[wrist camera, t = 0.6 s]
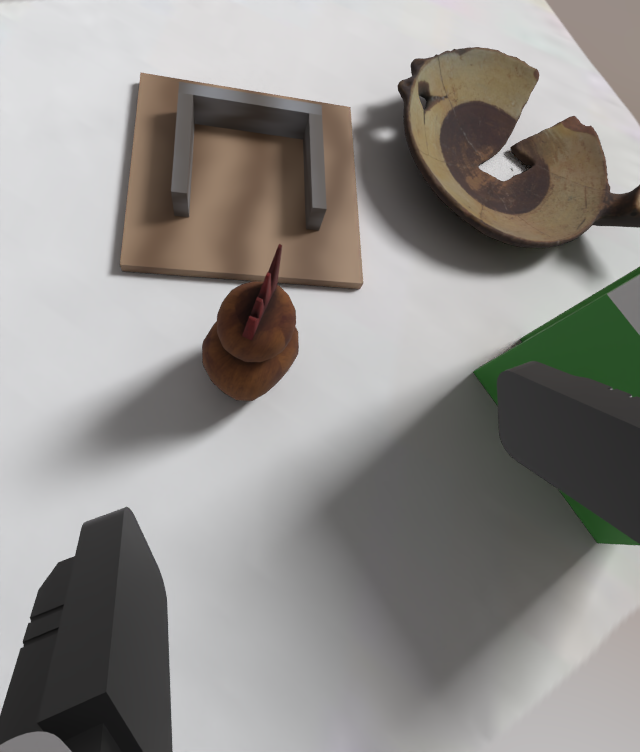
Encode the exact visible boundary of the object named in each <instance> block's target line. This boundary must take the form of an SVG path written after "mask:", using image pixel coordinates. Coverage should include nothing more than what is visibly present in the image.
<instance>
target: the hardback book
mask: <svg viewBox="0 0 640 752" xmlns="http://www.w3.org/2000/svg"><path fill="white" fill-rule="evenodd" d="M520 340H521V341H522V343H520V344H518V345H517V346H515V347H513V348H512V349H510V350H508V351H507V352H505V353H503V354H501V355H500V356H498V357H496V358H495V359H493V360H491V361H489V362H488V363H486V364H484V365H483V366H481V367H479V368H478V369H476V370H475V371H474V372H473V373H474V374H475V375H476V377H477V378H478V380H479V381H480V382H481V384H482V385H483V386H484V388H485V389H486V391H487V392H488V393H489V395H490V396H491V397H492V399H493V400H494V402H495V403H496V404H497V406H498V400H497V378H498V376H499V374H500V373H501V372H503V371H505V370H508V369H511V368H514V367H516V366H519V365H522V364H525V363H527V362H530V361H537V362H540V363H542V364H545V365H548V366H550V367H553V368H555V369H558V370H561V371H563V372H566V373H568V374H571V375H574V376H579V377H585V378H589V379H592V380H595V381H597V382H600V383H603V384H605V385H608V386H611V387H612V389H613V390H615V389H619V390H621V391H624V392H627V393H629V394H631V395H632V397H636V396H637V397H640V267H638V268H637V269H635V270H633V271H632V272H630V273H628V274H627V275H625V276H623V277H622V278H620V279H618V280H617V281H615V282H613V283H612V284H610V285H608V286H607V287H605V288H603V289H602V290H600V291H598V292H597V293H595V294H593V295H592V296H590V297H588V298H587V299H585V300H583V301H582V302H580V303H578V304H577V305H575V306H574V307H572V308H570V309H569V310H567V311H565V312H564V313H562V314H560V315H559V316H557V317H555V318H554V319H552V320H550V321H549V322H547V323H545V324H544V325H542V326H540V327H539V328H537V329H535V330H534V331H532V332H530V333H529V334H527V335H525V336H524V337H523V338H521V339H520ZM558 490H559V489H558ZM559 491H560V492H561V494H562V495H563V496H564V498H565V499H566V501H567V502H568V503H569V505H570V506H571V508H572V509H573V510H574V512H575V513H576V514H577V516H578V517H579V519H580V520H581V521H582V523H583V524H584V525H585V527H586V528H587V530H588V531H589V532H590V534H591V535H592V536H593V538H594V539H595V541H596V542H597V543H605V544H624V545H640V544H639V543H637V542H636V541H634V540H633V539H631V538H630V537H628V536H627V535H625V534H624V533H622V532H621V531H619V530H618V529H617V528H615V527H614V526H612V525H611V524H609V523H608V522H606V521H605V520H603V519H602V518H600V517H599V516H597V515H596V514H594V513H593V512H591V511H590V510H589V509H587V508H586V507H584V506H583V505H581V504H580V503H578V502H577V501H575V500H574V499H572V498H571V497H569V496H568V495H566V494H565V493H563V492H562V491H561V490H559Z"/></svg>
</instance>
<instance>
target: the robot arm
mask: <svg viewBox="0 0 640 752" xmlns="http://www.w3.org/2000/svg"><path fill="white" fill-rule="evenodd" d="M497 400H498V420H499V435H500V439H501V442H502V444H503V446H504V448H505V449H506V451H507V452H508V454H509V455H510V456H511V457H512V458H514V459H515V460H516V461H518V462H519V463H521V464H522V465H524V466H525V467H527V468H528V469H530V470H531V471H533V472H534V473H536V474H537V475H538V476H540V477H541V478H543V479H544V480H546V481H547V482H549V483H550V484H552V485H553V486H555V487H556V488H558V489H559V490H561V491H562V492H563V493H565V494H566V495H568V496H569V497H571V498H572V499H574V500H575V501H577V502H578V503H580V504H581V505H583V506H584V507H586V508H587V509H589V510H590V511H591V512H593V513H594V514H596V515H597V516H599V517H600V518H602V519H603V520H605V521H606V522H608V523H609V524H611V525H612V526H614V527H615V528H617V529H618V530H619V531H621V532H622V533H624V534H625V535H627V536H628V537H630V538H631V539H633V540H634V541H636V542H637V543H639V544H640V397H637V396H636V397H632V395H631V394H629V393H627V392H624V391H621V390H619V389H615V390H613V389H612V387H611V386H608V385H605V384H603V383H600V382H597V381H595V380H592V379H589V378H585V377H579V376H574V375H571V374H568V373H566V372H563V371H561V370H558V369H555V368H553V367H550V366H548V365H545V364H542V363H540V362H537V361H530V362H527V363H525V364H522V365H519V366H516V367H514V368H511V369H508V370H505V371H503V372H501V373H500V374H499V376H498V378H497ZM30 619H31V623H28V626H27V629H26V633H25V636H24V639H23V644H24V647H23V648H21V649H20V652H19V656H18V659H17V662H16V665H15V669H14V672H13V675H12V679H11V682H10V685H9V688H8V692H7V695H6V698H5V701H4V705H3V708H2V711H1V715H0V752H172V726H171V698H170V670H169V642H168V614H167V597H166V591H165V586H164V582H163V579H162V576H161V573H160V570H159V568H158V565H157V563H156V561H155V559H154V557H153V555H152V552H151V550H150V548H149V546H148V544H147V542H146V539H145V537H144V535H143V533H142V531H141V529H140V526H139V524H138V522H137V520H136V518H135V516H134V514H133V512H132V511H131V509H130V508H128V507H125V508H123V509H120V510H117V511H114V512H112V513H109V514H106V515H103V516H101V517H98V518H95V519H92V520H90V521H87V522H85V523H83V525H82V528H81V532H80V537H79V541H78V546H77V550H76V554H75V556H74V557H72V558H69V559H66V560H64V561H61V562H58V564H57V565H56V567H55V568H54V569H53V571H52V572H51V573H50V575H49V576H48V578H47V579H46V580H45V582H44V583H43V585H42V586H41V587H40V589H39V590H38V593H37V597H36V600H35V603H34V606H33V610H32V613H31V616H30Z"/></svg>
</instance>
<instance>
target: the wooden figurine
mask: <svg viewBox="0 0 640 752" xmlns="http://www.w3.org/2000/svg"><path fill="white" fill-rule="evenodd" d="M281 252H282V245H281V244H279V245H278V247H277V250H276V253H275V255H274V258H273V260H272V263H271V266H270V268H269V271H268V272H267V274H266V276H265V279H264V282H261V281H253V282H249V283H245V284H242V285H240V286H238V287H236V288H235V289H233V290H231V292H230V293H229V294H228V295H227V297H226V298H225V299H224V301H223V302H222V304H221V307H220V309H219V312H218V315H217V322H216V323H215V324H214V325H213V327H212V328H211V330H210V331H209V333H208V335H207V336H206V338H205V339H204V341H203V345H202V358H203V366H204V368H205V370H206V372H207V373H208V375H209V377H210V379H211V381H212V382H213V383H214V384H215V385H216V386H217V387H218V388H219V389H220V390H221V391H223V392H224V393H225V394H227V395H229V396H230V397H232V398H234V399H235V400H245V401H253V400H255V399H256V398H258V397H260V396H262V395H263V394H265V393H266V392H268V391H269V390H270V389H271V388H272V387H273V386H274V385H276V384H277V382H278V381H279V380H280V379H281V378H282V377H283V376H284V375H285V374H286V372H287V371H288V370H289V368H290V367H291V365H292V363H293V362H294V360H295V359H296V357H297V355H298V349H299V345H298V331H297V329H296V327H295V325H296V311H295V308H294V306H293V304H292V302H291V299H290V297H289V295H288V294H287V293H286V292H285V291H284V290H283V289H282V288H281V287H280V286H278V285H277V283H278V276H279V268H280V260H281Z"/></svg>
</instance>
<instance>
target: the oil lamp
mask: <svg viewBox="0 0 640 752" xmlns="http://www.w3.org/2000/svg"><path fill="white" fill-rule="evenodd" d="M411 73H412V77H410V78H408V79H405V80H402V81H401V82H399V84H398V91H399V93H400V94H401V97H402V98H403V101H404V116H403V117H404V128H405V134H406V139H407V142H408V146H409V149H410V151H411V154H412V157H413V159H414V161H415V163H416V164H417V166H418V168H419V170H420V172H421V173H422V175H423V177H424V178H425V180H426V181H427V182H428V184H429V185H430V187H431V188H432V189H433V191H434V192H435V193H436V194H437V195H438V197H439V198H440V199H441V200H442V201H443V202H444V203H445V204H446V205H447V206H448V207H449V208H450V209H452V210H453V211H454V212H455V213H456V214H457V215H459V216H460V217H461V218H462V219H464V220H465V221H466V222H467V223H469V224H470V225H472V226H473V227H474V228H476V229H477V230H478V231H480V232H482V233H483V234H485V235H487V236H489V237H491V238H493V239H496V240H499V241H501V242H503V243H507V244H510V245H514V246H519V247H526V248H545V247H553V246H558V245H562V244H565V243H567V242H570V241H572V240H574V239H576V238H578V237H579V236H581V235H582V234H583V233H584V232H586V231H587V230H588V229H589V228H590V227H591V226H592V225H596V226H622V227H640V185H639V186H638V187H637V188H635V189H634V190H633V191H631V192H629V193H625V194H613V193H610V186H609V184H608V179H607V175H608V174H607V166H606V160H605V156H604V152H603V150H602V146H601V143H600V140H599V138H598V135H597V133H596V132H595V131H594V128H593V127H592V126H585V125H583V124H581V123H580V121H579V120H578V119H577V118H576V117H575V116H572V117H569V118H567V119H565V120H564V121H562V122H559V123H557V124H556V125H554V126H552V127H550V128H548V129H545V130H543V131H541V132H540V133H538V134H535V135H533V136H531V137H529V138H527V139H524V140H522V141H520V142H518V143H516V144H515V145H513V146H512V147H511V150H512V153H513V154H515V155H516V156H517V158H518V159H519V160H521V161H522V162H523V163H524V164H525V165H530V166H531V167H532V168H530V169H528V170H527V171H525V172H523V173H521V174H518V175H515V176H513V177H512V178H511V179H509V180H507V181H500V180H498V179H496V178H495V177H492V176H491V175H489V174H488V173H485V172H483V171H482V170H480V169H479V165H480V164H481V163H483V162H485V161H487V160H489V159H490V158H492V157H493V156H494V155H496V154H497V153H498V152H499V151H500V150H501V148H502V147H503V146H504V145H505V144H506V142H507V140H508V138H509V137H510V135H511V133H512V131H513V129H514V127H515V125H516V123H517V121H518V119H519V117H520V115H521V112H522V109H523V108H524V106H525V104H526V103H527V101H528V99H529V96H530V94H531V92H532V91H533V89H534V87H535V85H536V83H537V82H538V79H539V72H538V70H537V69H535V68H533V67H531V66H529V65H528V64H527V63H525V62H524V61H521V60H520V59H518V58H517V57H513V56H508V55H506V54H505V53H502V52H500V51H498V50H493V49H489V48H480V47H474V48H465V49H463V48H462V49H457V50H456V49H453V50H452V51H451V52H450V51H445V52H443V53H441V54H440V55H435V56H434V57H431V58H426V59H420V58H418V59H414V60H413V62H412V63H411ZM419 96H421V97H423V98H425V100H426V107H425V109H424V110H423V107H422V104H421V102H420V99H419ZM511 169H512V168H511ZM512 171H513V169H512Z"/></svg>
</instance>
